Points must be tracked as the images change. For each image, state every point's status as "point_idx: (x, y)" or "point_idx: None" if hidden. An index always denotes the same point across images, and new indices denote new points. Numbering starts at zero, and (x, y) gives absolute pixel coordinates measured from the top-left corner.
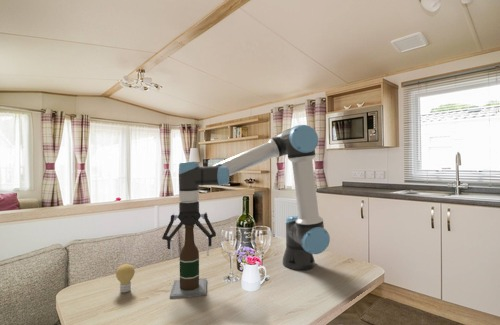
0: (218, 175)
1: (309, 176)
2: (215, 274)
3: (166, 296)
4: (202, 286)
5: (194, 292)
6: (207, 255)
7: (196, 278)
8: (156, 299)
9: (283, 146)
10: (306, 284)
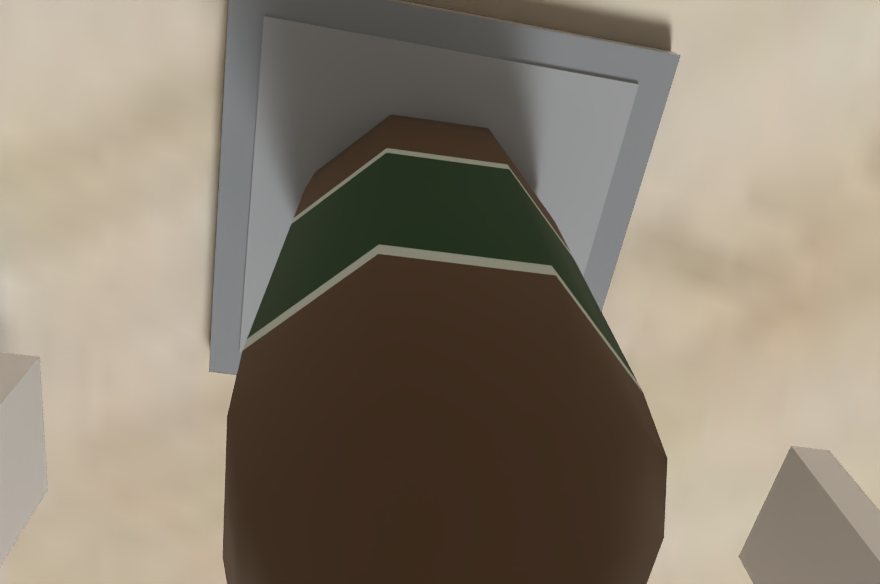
0: None
1: None
2: (107, 462)
3: (694, 116)
4: (269, 174)
5: (380, 42)
6: (16, 359)
7: (335, 180)
8: (808, 81)
9: None
10: None
